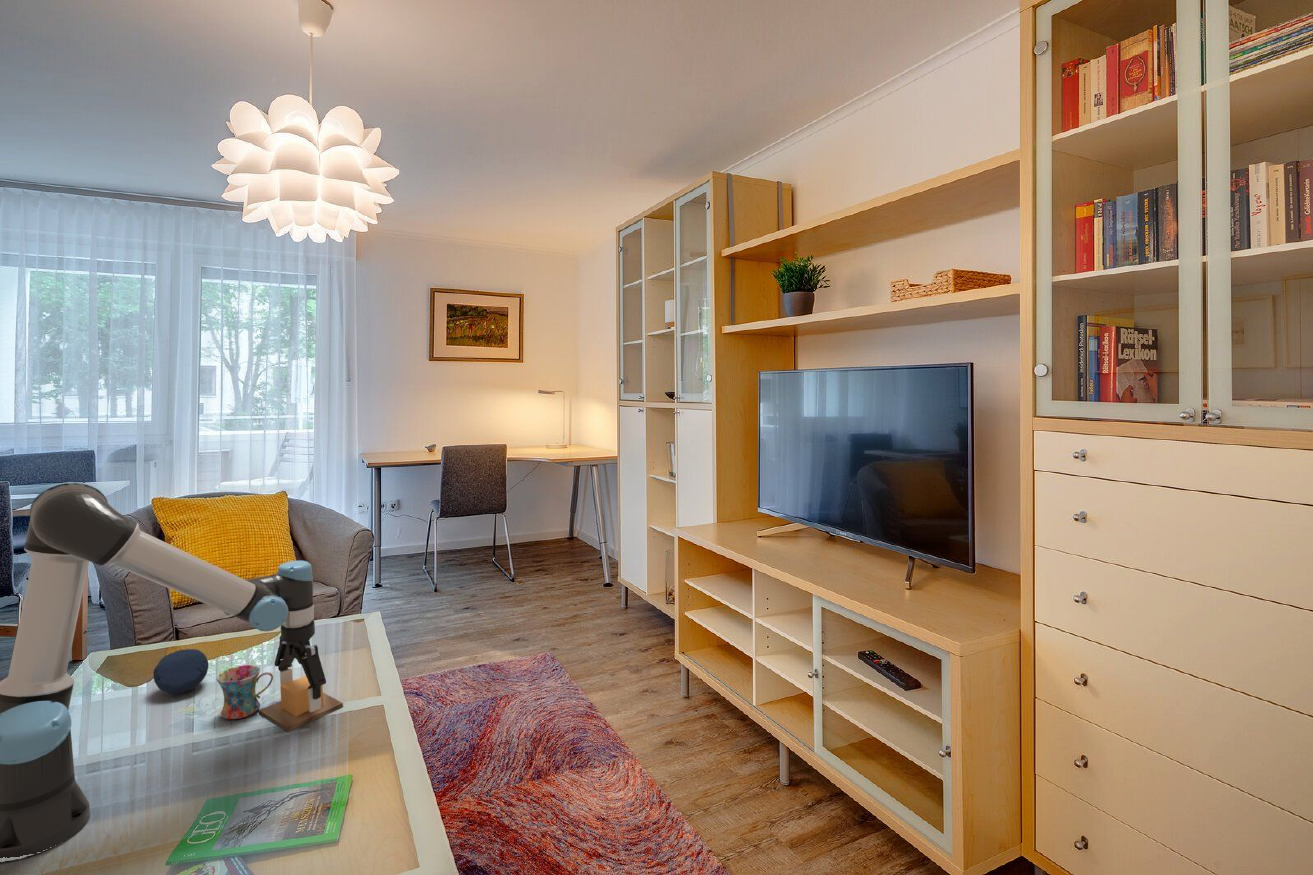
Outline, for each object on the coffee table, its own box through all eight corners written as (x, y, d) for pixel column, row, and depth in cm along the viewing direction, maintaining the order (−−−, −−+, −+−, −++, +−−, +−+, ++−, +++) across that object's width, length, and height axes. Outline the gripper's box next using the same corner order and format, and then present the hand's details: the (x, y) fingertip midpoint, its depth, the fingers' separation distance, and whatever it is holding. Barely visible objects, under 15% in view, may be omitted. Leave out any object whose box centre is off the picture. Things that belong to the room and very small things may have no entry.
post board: (287, 731, 155) (286, 709, 154) (259, 713, 162) (258, 692, 162) (342, 706, 167) (342, 686, 166) (313, 690, 174) (312, 671, 174)
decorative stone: (153, 689, 174) (150, 654, 172) (206, 675, 181) (204, 642, 180) (156, 706, 165) (154, 669, 164) (212, 691, 173) (210, 656, 172)
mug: (217, 726, 156) (215, 685, 155) (219, 709, 164) (217, 669, 163) (274, 713, 163) (272, 673, 161) (274, 697, 170) (272, 659, 169)
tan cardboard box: (295, 716, 160) (294, 693, 159) (281, 707, 164) (280, 685, 163) (323, 704, 166) (322, 682, 165) (308, 696, 169) (307, 674, 169)
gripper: (339, 629, 158) (342, 710, 161) (287, 607, 172) (290, 681, 174) (309, 639, 152) (312, 723, 154) (257, 615, 166) (261, 693, 168)
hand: (300, 701), depth 164 cm, fingers open, 13 cm apart
